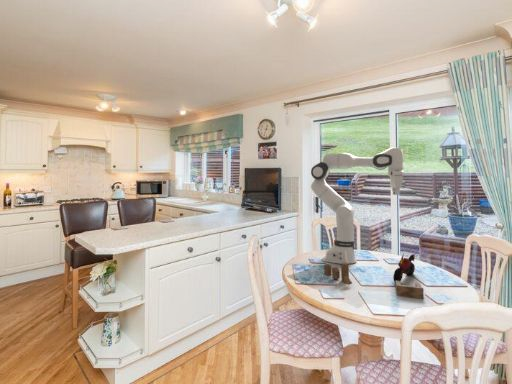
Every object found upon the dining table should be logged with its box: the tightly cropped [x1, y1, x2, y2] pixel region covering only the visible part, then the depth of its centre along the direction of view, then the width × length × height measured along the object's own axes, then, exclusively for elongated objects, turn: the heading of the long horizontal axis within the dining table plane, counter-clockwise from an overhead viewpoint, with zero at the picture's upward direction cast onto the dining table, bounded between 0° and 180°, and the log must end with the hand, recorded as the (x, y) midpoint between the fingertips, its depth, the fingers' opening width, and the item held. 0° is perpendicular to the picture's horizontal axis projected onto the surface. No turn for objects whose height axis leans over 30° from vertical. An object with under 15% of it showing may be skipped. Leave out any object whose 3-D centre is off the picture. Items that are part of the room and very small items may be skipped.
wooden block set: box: [323, 262, 353, 285], centre depth 153 cm, size 18×9×10 cm, turn 36°
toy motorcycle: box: [392, 253, 416, 283], centre depth 156 cm, size 25×5×16 cm, turn 129°
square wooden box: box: [395, 281, 424, 300], centre depth 135 cm, size 11×11×5 cm
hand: (395, 194), depth 174 cm, fingers open, 8 cm apart
